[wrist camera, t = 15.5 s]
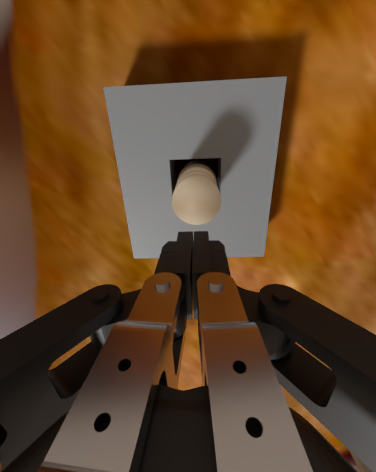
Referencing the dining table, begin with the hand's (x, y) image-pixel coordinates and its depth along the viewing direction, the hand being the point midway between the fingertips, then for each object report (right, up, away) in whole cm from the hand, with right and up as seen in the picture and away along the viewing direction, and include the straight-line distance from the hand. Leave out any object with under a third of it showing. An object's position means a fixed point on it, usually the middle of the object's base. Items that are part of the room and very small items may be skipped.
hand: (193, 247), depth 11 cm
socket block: (+1, +8, +16) cm, 18 cm away
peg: (+1, +8, +16) cm, 18 cm away
